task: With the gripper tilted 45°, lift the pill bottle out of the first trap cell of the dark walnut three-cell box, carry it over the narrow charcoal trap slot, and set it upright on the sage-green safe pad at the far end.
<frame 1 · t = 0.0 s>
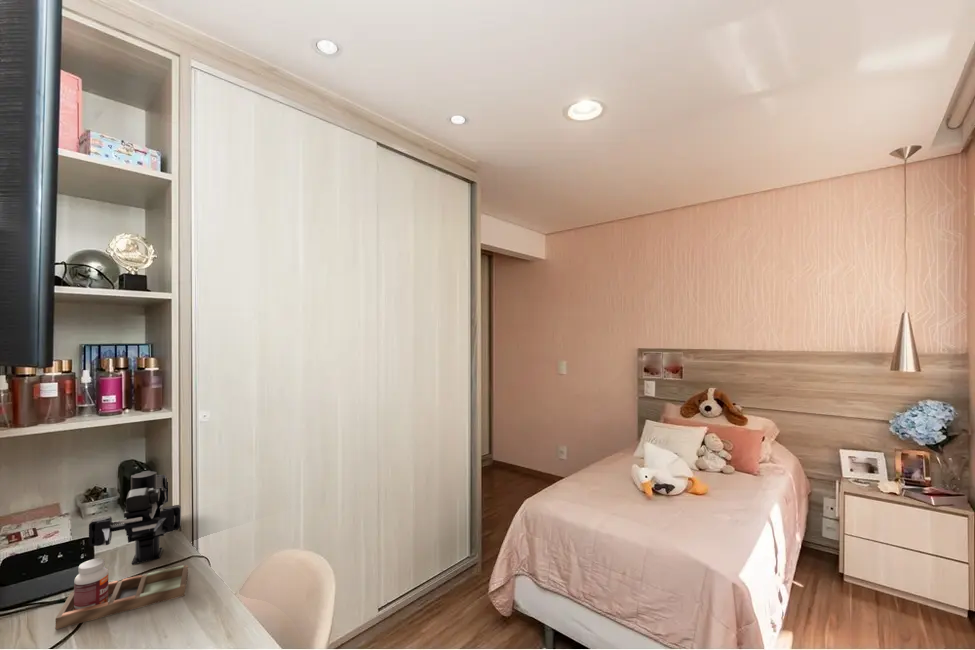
hand: (131, 538, 106), 17 cm above the table, tool horizontal, fingers open, 9 cm apart
pill bottle: (91, 609, 105), resting in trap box
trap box: (128, 599, 109), on the table
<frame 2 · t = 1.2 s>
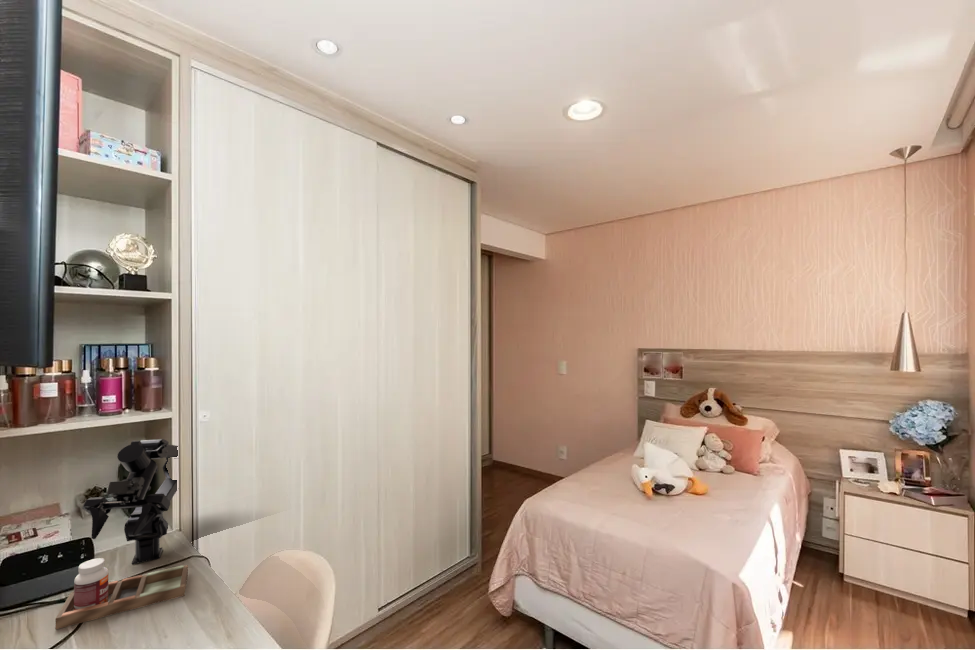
hand: (113, 537, 113), 14 cm above the table, tool tilted 45°, fingers open, 9 cm apart
nothing on the table moved.
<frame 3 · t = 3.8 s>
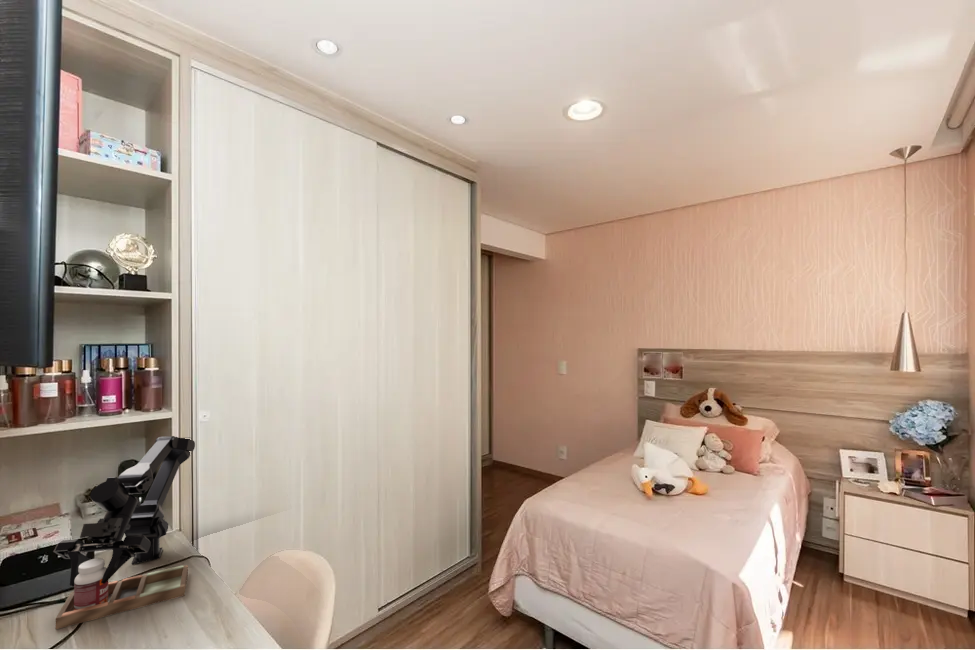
hand: (87, 584, 104), 7 cm above the table, tool tilted 45°, fingers closed on pill bottle, 6 cm apart
pill bottle: (91, 609, 105), resting in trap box, touching gripper
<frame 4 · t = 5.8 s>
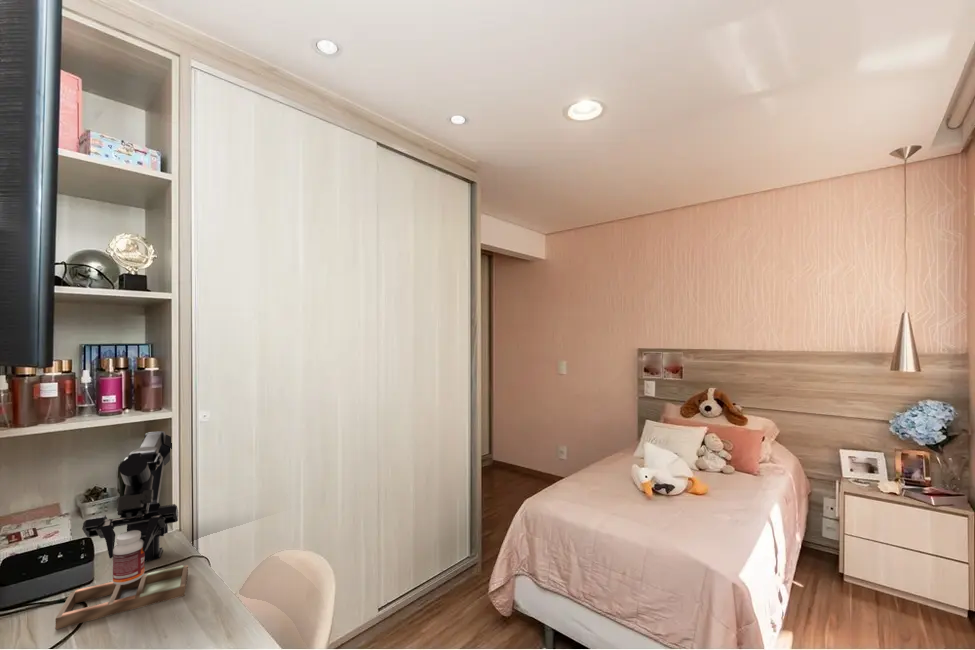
hand: (127, 554, 107), 12 cm above the table, tool tilted 45°, fingers closed on pill bottle, 6 cm apart
pill bottle: (128, 579, 108), point 5 cm above the table, touching gripper
when the fingers open (8 cm above the table, at t = 7.9 s): pill bottle stays where it is, resting on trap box.
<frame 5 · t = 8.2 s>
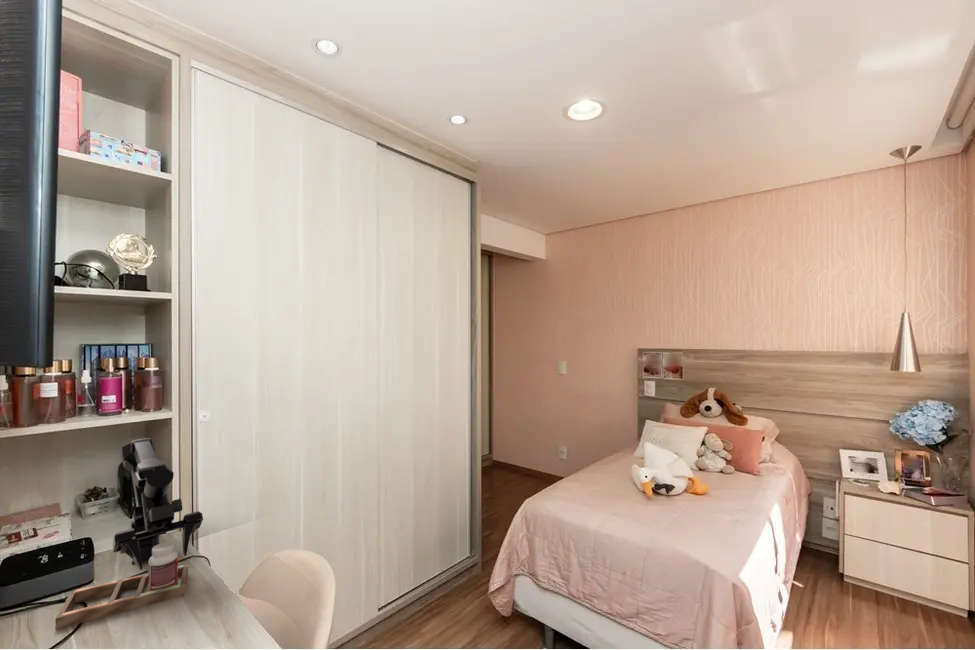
hand: (164, 561, 111), 8 cm above the table, tool tilted 45°, fingers open, 9 cm apart
pill bottle: (163, 589, 112), resting on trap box
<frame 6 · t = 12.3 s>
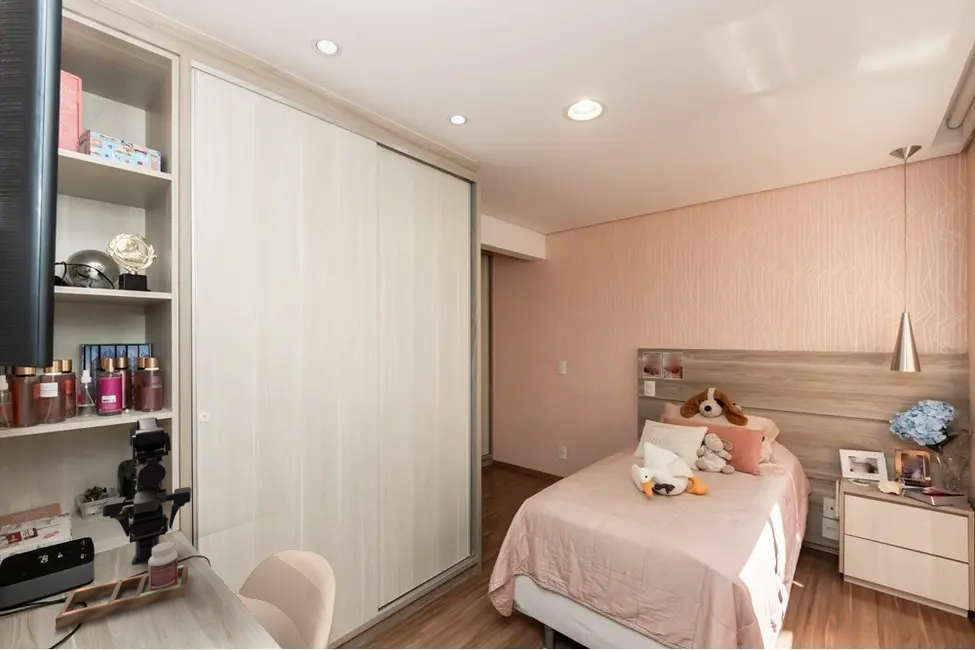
hand: (149, 532, 119), 12 cm above the table, tool pointing down, fingers open, 9 cm apart
nothing on the table moved.
at the end: pill bottle inside the target area (0.2 cm from its centre), resting on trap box; pill bottle tilted 0°; the gripper is holding nothing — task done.
